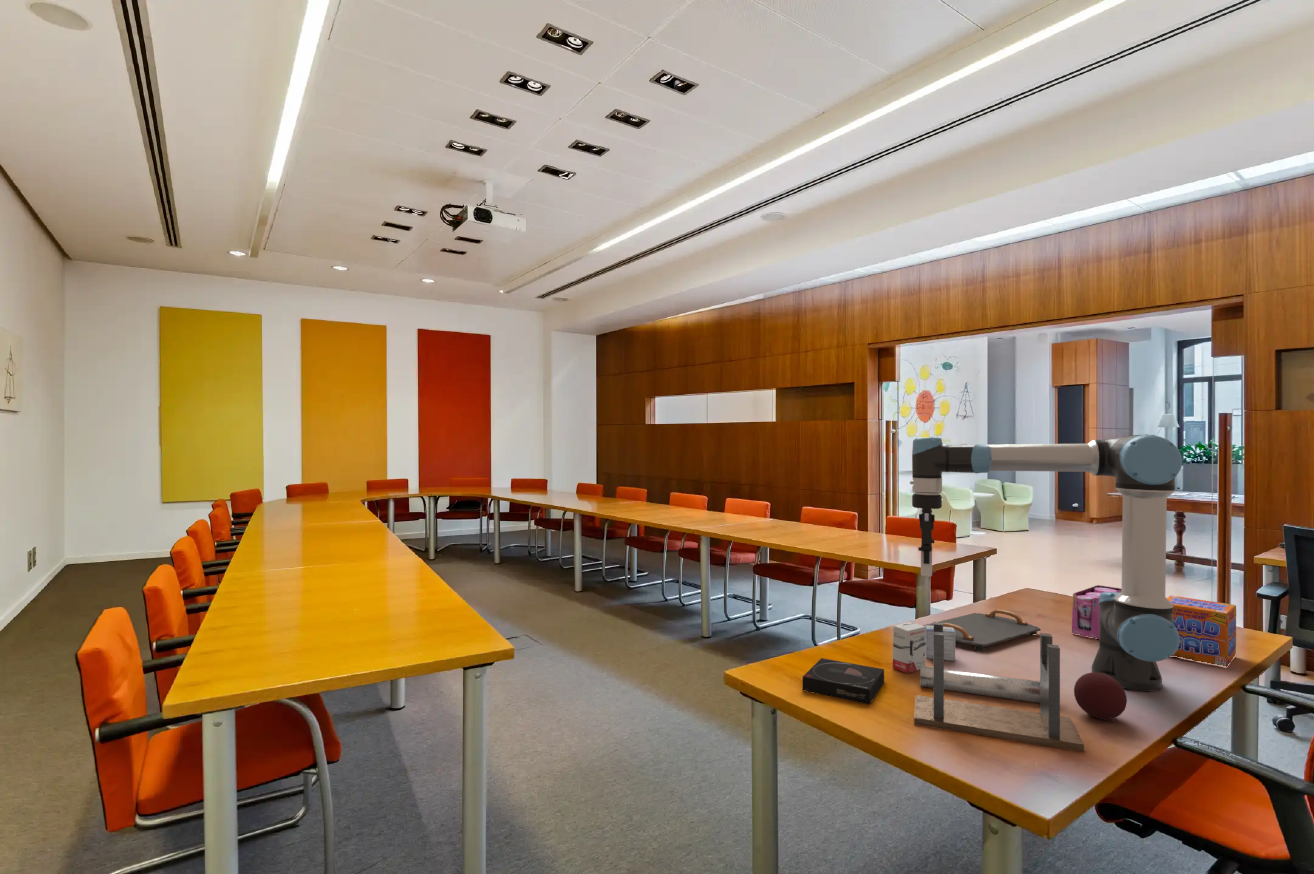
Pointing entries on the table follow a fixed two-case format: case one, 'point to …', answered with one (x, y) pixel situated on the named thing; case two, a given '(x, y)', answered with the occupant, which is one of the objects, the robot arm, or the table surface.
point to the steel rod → (984, 684)
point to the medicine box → (948, 643)
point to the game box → (1205, 630)
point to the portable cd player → (844, 680)
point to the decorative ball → (1100, 695)
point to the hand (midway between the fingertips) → (926, 571)
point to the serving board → (988, 628)
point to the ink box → (909, 647)
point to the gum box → (1088, 610)
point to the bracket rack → (998, 720)
